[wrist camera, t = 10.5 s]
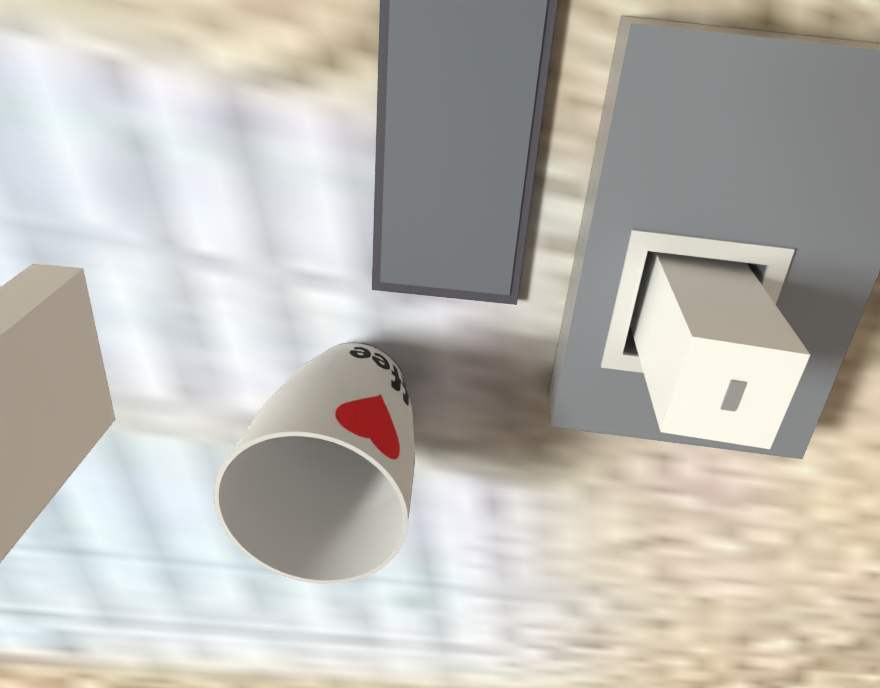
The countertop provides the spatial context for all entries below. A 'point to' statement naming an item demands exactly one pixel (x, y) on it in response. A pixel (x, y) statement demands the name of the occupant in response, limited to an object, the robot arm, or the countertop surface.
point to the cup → (324, 470)
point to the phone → (457, 143)
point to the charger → (714, 350)
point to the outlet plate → (724, 206)
